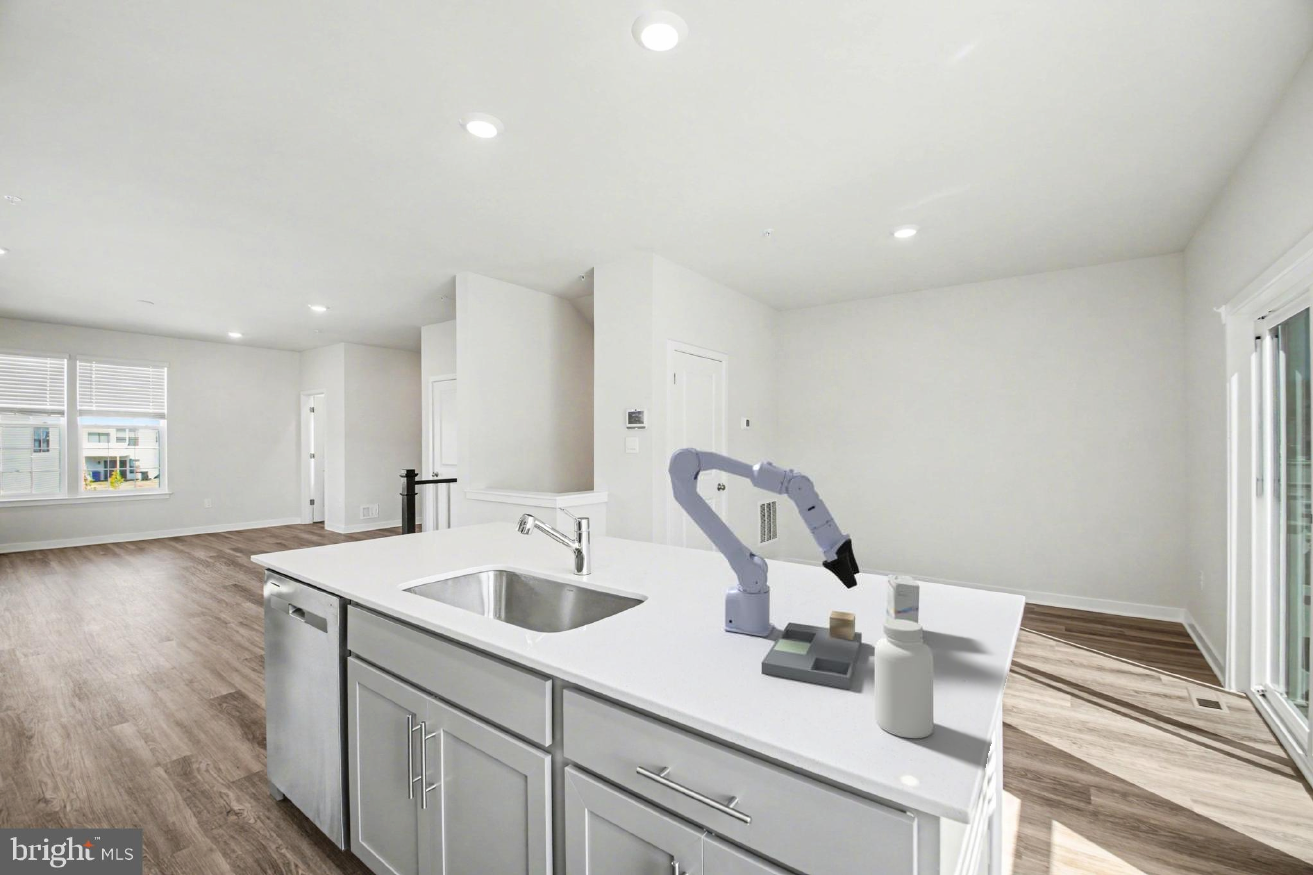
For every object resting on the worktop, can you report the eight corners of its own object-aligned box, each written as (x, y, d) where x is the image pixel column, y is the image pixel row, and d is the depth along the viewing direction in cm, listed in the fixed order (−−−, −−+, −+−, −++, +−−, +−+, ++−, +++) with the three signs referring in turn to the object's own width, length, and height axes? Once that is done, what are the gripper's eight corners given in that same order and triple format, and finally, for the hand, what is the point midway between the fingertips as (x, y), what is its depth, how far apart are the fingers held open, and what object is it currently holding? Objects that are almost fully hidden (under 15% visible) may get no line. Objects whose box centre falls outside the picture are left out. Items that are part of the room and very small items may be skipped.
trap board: (761, 673, 101) (761, 662, 101) (788, 631, 123) (788, 622, 123) (849, 689, 94) (849, 677, 94) (861, 642, 116) (861, 632, 116)
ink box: (885, 625, 127) (885, 573, 127) (910, 627, 126) (910, 574, 126) (893, 638, 118) (894, 583, 118) (919, 640, 117) (920, 584, 117)
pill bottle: (864, 713, 86) (865, 616, 86) (914, 711, 87) (915, 615, 87) (890, 741, 78) (891, 634, 78) (945, 739, 79) (945, 633, 79)
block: (829, 636, 114) (829, 616, 114) (832, 629, 118) (832, 610, 118) (852, 640, 112) (852, 620, 112) (854, 632, 116) (855, 613, 116)
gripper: (834, 524, 113) (869, 584, 111) (840, 508, 126) (872, 561, 124) (803, 539, 115) (837, 598, 114) (812, 521, 129) (844, 574, 127)
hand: (854, 580), depth 119 cm, fingers open, 7 cm apart
